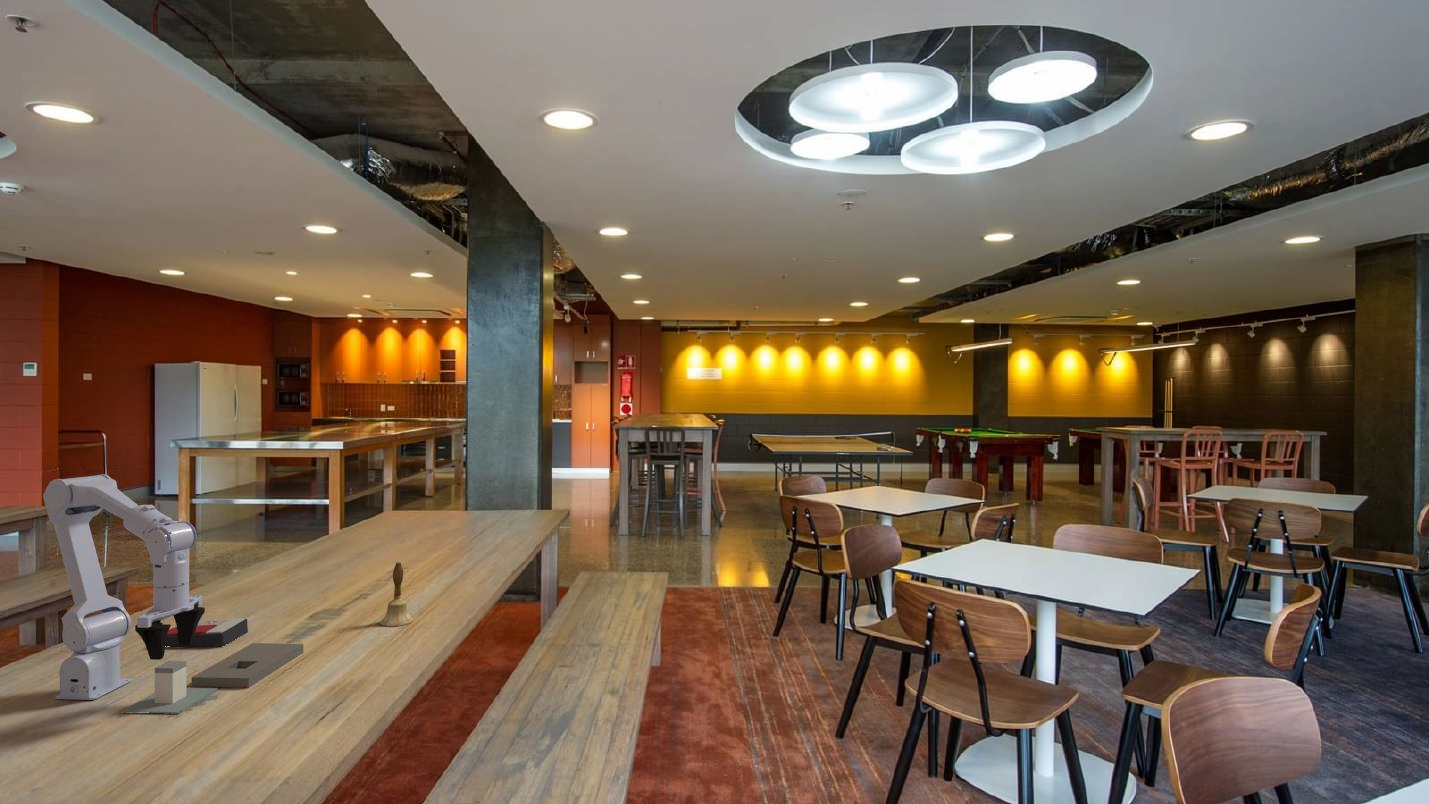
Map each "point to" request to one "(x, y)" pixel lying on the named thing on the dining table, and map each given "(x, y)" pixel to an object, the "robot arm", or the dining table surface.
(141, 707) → the mat
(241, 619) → the black and red box
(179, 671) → the plug
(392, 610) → the hand bell
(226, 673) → the grey slotted plate
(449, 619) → the dining table surface
